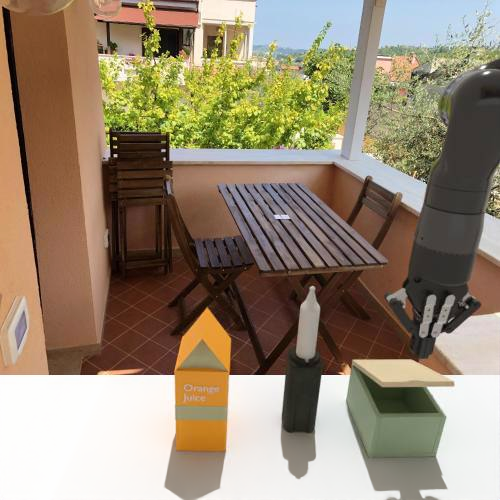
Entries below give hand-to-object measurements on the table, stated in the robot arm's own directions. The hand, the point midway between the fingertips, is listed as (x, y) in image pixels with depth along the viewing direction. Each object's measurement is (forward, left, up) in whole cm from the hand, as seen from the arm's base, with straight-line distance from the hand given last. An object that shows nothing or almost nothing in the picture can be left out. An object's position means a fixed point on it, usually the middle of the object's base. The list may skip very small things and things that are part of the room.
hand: (419, 355), depth 60 cm
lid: (+3, -3, -7) cm, 8 cm away
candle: (+15, +6, -18) cm, 24 cm away
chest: (+3, -3, -17) cm, 18 cm away
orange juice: (+25, +18, -18) cm, 35 cm away
